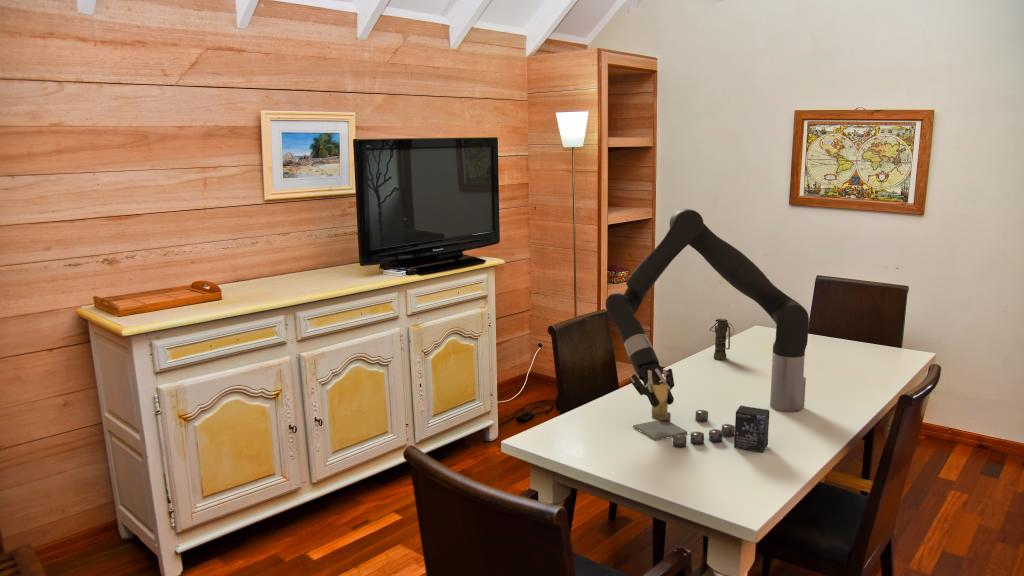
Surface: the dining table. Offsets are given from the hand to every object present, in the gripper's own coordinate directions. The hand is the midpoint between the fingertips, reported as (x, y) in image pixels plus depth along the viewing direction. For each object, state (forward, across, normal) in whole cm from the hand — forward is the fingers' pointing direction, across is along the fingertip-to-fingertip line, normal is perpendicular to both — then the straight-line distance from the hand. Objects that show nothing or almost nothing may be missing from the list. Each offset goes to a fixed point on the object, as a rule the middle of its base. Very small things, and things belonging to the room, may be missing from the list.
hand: (663, 404), depth 220 cm
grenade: (-28, +60, +40) cm, 78 cm away
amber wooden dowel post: (+2, 0, +5) cm, 5 cm away
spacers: (+7, +7, +4) cm, 11 cm away
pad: (+5, 0, +7) cm, 9 cm away
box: (+20, +15, -8) cm, 26 cm away
